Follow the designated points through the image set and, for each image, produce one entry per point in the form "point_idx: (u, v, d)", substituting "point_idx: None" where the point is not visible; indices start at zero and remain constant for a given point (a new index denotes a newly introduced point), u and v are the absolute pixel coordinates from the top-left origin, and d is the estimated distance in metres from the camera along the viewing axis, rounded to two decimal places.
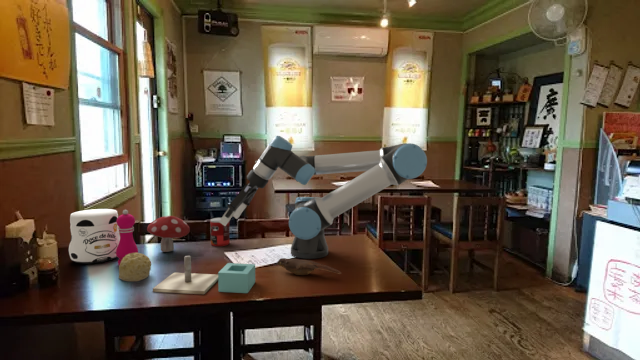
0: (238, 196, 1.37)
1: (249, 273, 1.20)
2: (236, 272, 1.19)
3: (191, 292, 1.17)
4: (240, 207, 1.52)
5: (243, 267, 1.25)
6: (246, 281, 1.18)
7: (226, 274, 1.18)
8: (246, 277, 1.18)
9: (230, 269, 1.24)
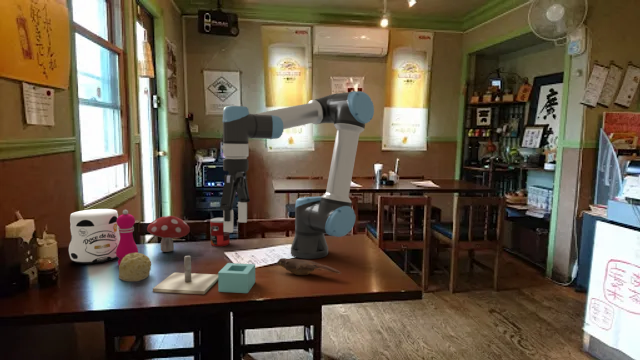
0: (224, 191, 1.12)
1: (249, 273, 1.20)
2: (236, 272, 1.19)
3: (191, 292, 1.17)
4: (241, 208, 1.27)
5: (243, 267, 1.25)
6: (246, 281, 1.18)
7: (226, 274, 1.18)
8: (246, 277, 1.18)
9: (230, 269, 1.24)
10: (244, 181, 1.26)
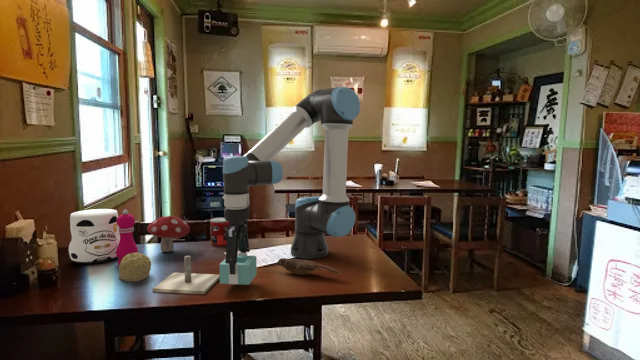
0: (228, 246, 1.15)
1: (250, 265, 1.20)
2: None
3: (191, 292, 1.17)
4: None
5: (244, 259, 1.25)
6: (247, 272, 1.18)
7: (227, 265, 1.18)
8: (247, 268, 1.18)
9: None
10: (245, 229, 1.27)
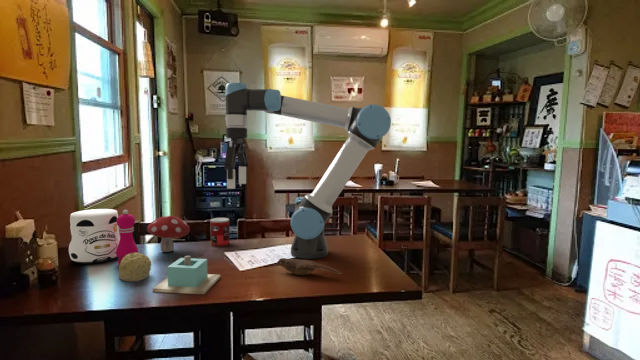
0: (227, 154, 1.34)
1: (198, 267, 1.21)
2: (185, 266, 1.20)
3: (191, 292, 1.17)
4: (241, 171, 1.49)
5: (195, 262, 1.26)
6: (195, 275, 1.19)
7: (175, 268, 1.20)
8: (195, 271, 1.19)
9: (181, 264, 1.25)
10: (243, 148, 1.48)
